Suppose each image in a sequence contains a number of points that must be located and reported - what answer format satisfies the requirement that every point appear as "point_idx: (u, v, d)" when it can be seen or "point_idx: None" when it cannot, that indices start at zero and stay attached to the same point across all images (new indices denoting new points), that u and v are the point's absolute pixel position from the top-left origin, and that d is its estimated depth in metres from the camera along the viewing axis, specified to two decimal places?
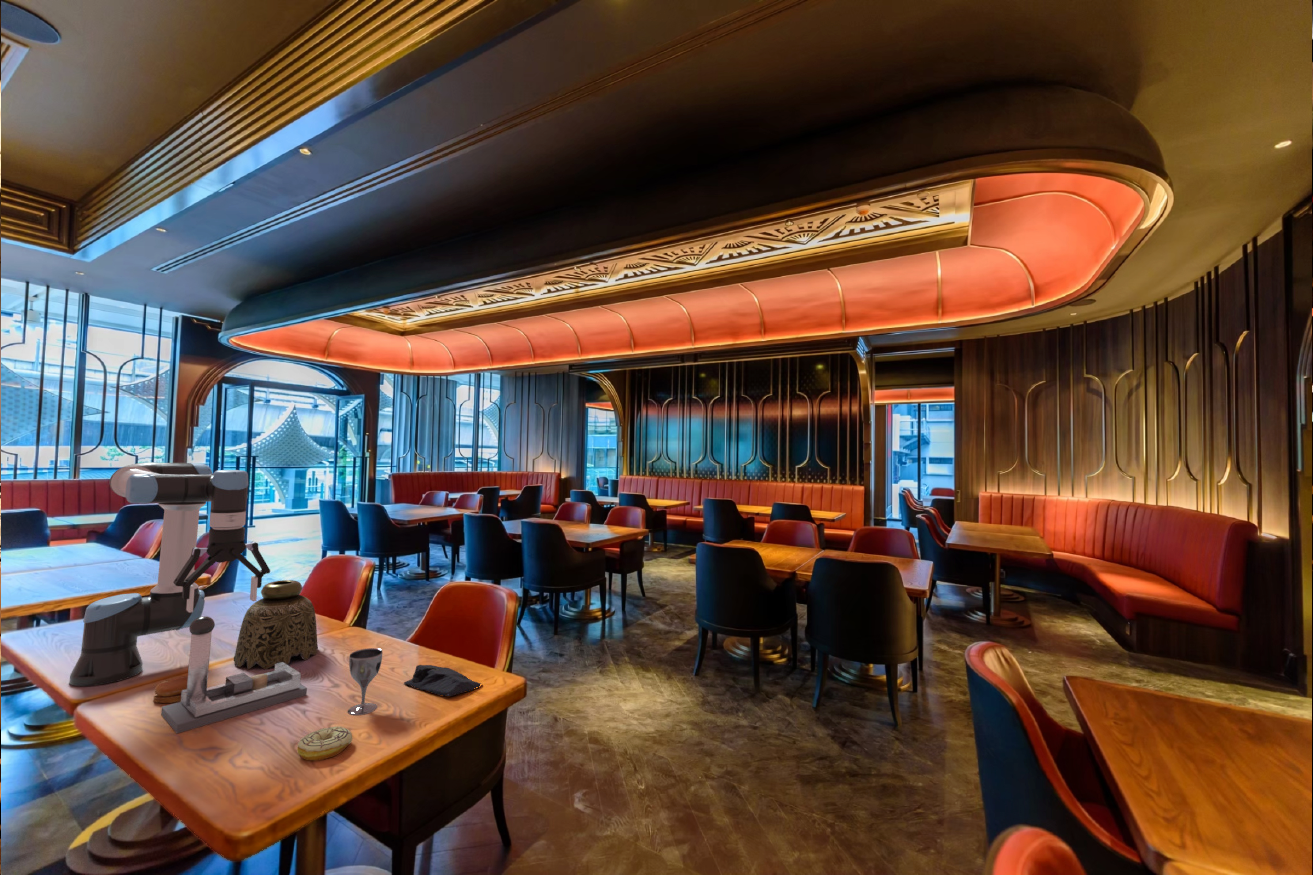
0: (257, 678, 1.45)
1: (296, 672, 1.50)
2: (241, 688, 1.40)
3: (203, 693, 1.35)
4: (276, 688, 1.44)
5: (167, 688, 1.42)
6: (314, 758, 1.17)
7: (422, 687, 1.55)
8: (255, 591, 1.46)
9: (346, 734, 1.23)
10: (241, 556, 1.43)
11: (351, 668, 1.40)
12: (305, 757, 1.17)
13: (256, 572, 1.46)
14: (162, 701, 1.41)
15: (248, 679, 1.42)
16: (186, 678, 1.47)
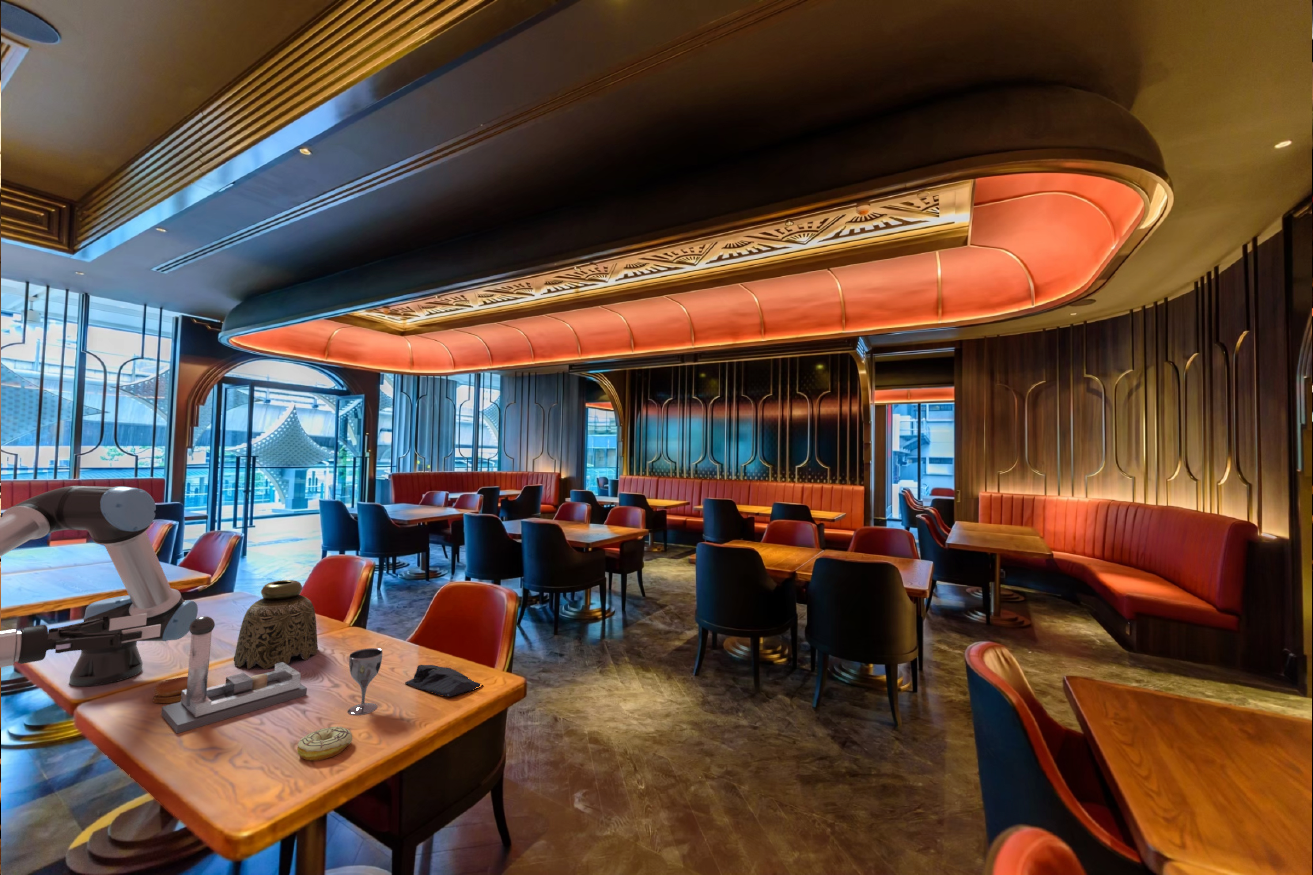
0: (257, 678, 1.45)
1: (296, 672, 1.50)
2: (241, 688, 1.40)
3: (203, 693, 1.35)
4: (276, 688, 1.44)
5: (167, 688, 1.42)
6: (314, 758, 1.17)
7: (423, 687, 1.55)
8: (144, 638, 1.22)
9: (345, 734, 1.23)
10: None
11: (351, 668, 1.40)
12: (305, 757, 1.17)
13: None
14: (162, 701, 1.41)
15: (248, 679, 1.42)
16: (186, 678, 1.47)
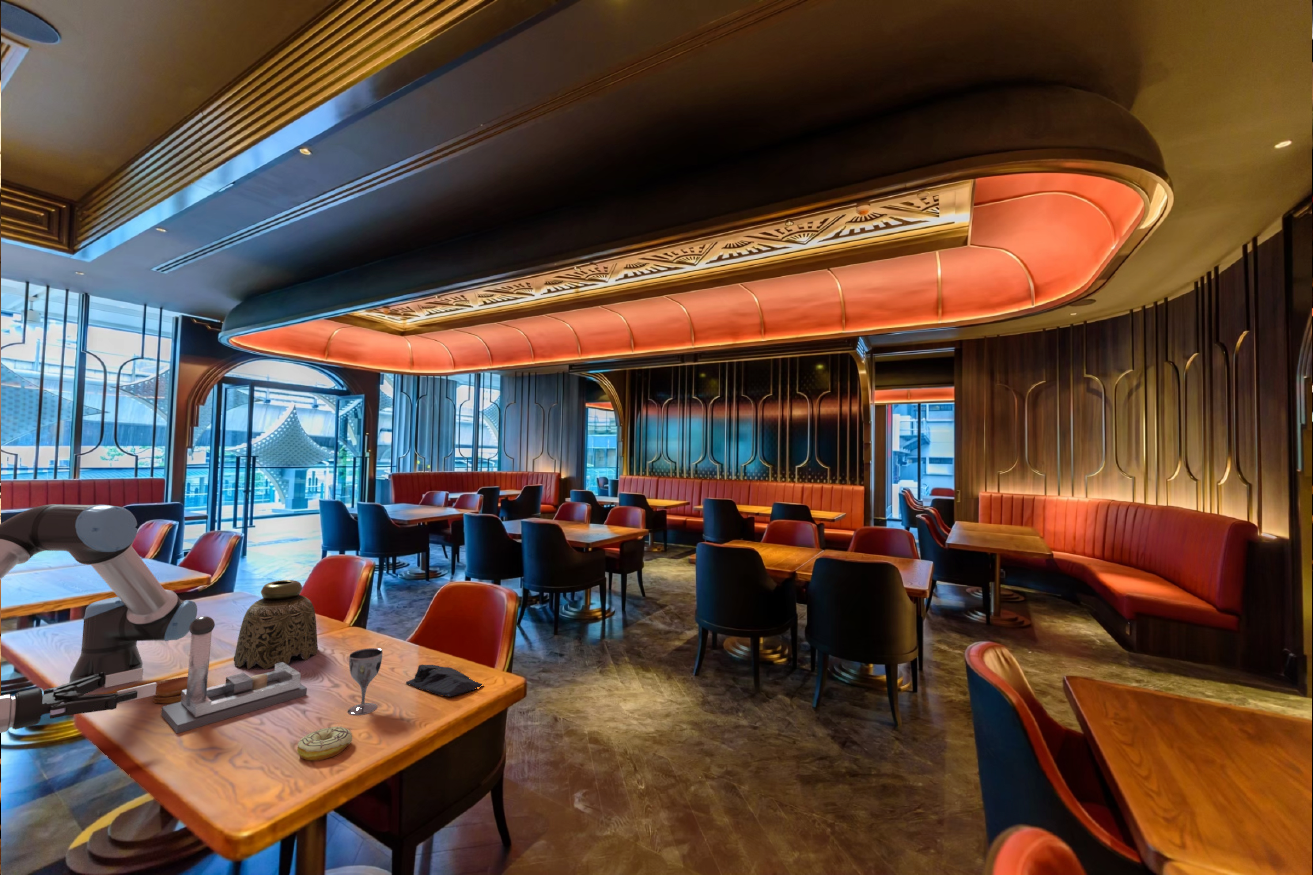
0: (257, 678, 1.45)
1: (296, 672, 1.50)
2: (241, 688, 1.40)
3: (203, 693, 1.35)
4: (276, 688, 1.44)
5: (167, 688, 1.42)
6: (314, 758, 1.17)
7: (423, 687, 1.55)
8: None
9: (345, 734, 1.23)
10: None
11: (351, 668, 1.40)
12: (305, 757, 1.17)
13: None
14: (162, 701, 1.41)
15: (248, 679, 1.42)
16: (186, 678, 1.47)
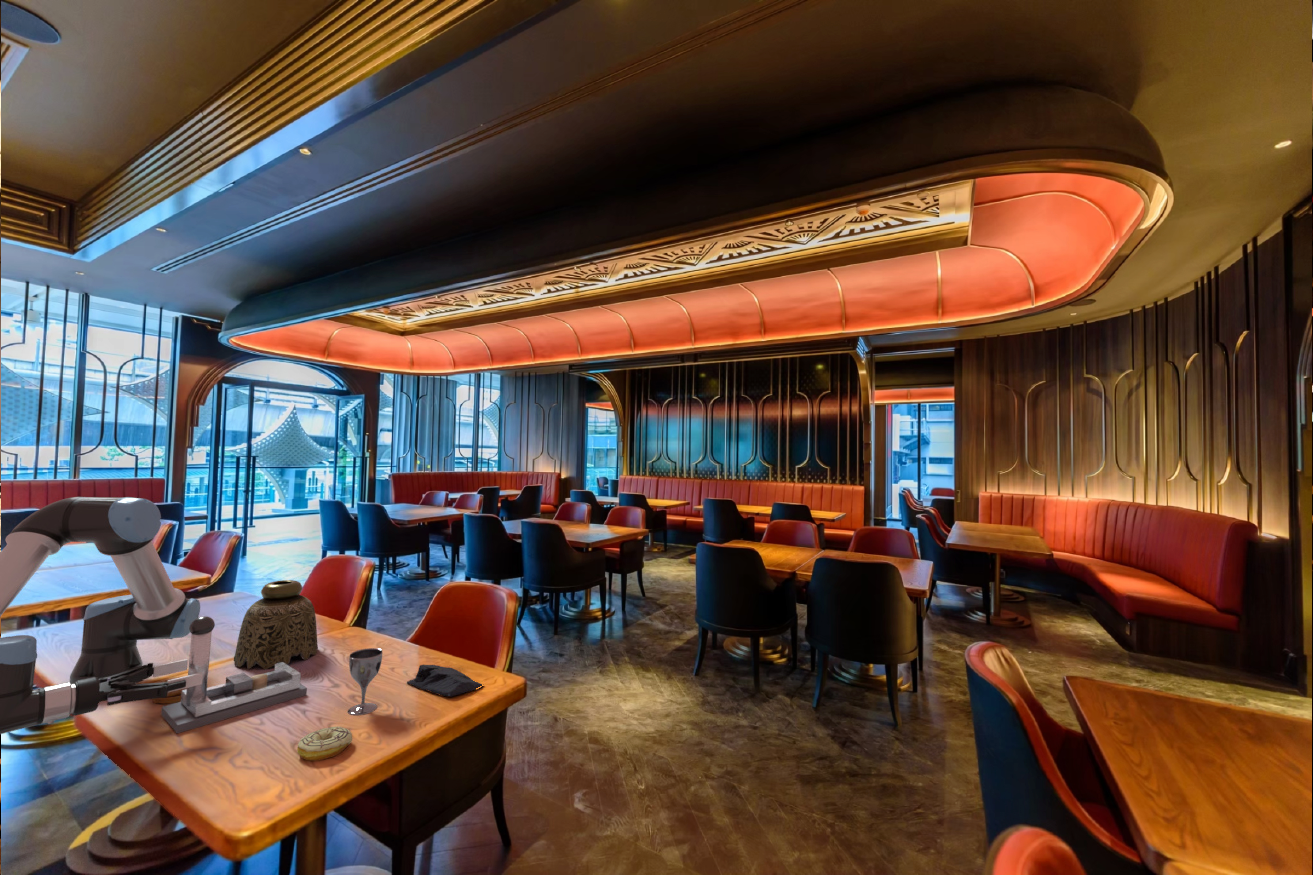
0: (257, 678, 1.45)
1: (296, 672, 1.50)
2: (241, 688, 1.40)
3: (203, 693, 1.35)
4: (276, 688, 1.44)
5: None
6: (314, 758, 1.17)
7: (424, 687, 1.55)
8: None
9: (346, 734, 1.23)
10: None
11: (351, 668, 1.40)
12: (305, 757, 1.17)
13: None
14: (162, 702, 1.41)
15: (248, 679, 1.42)
16: None
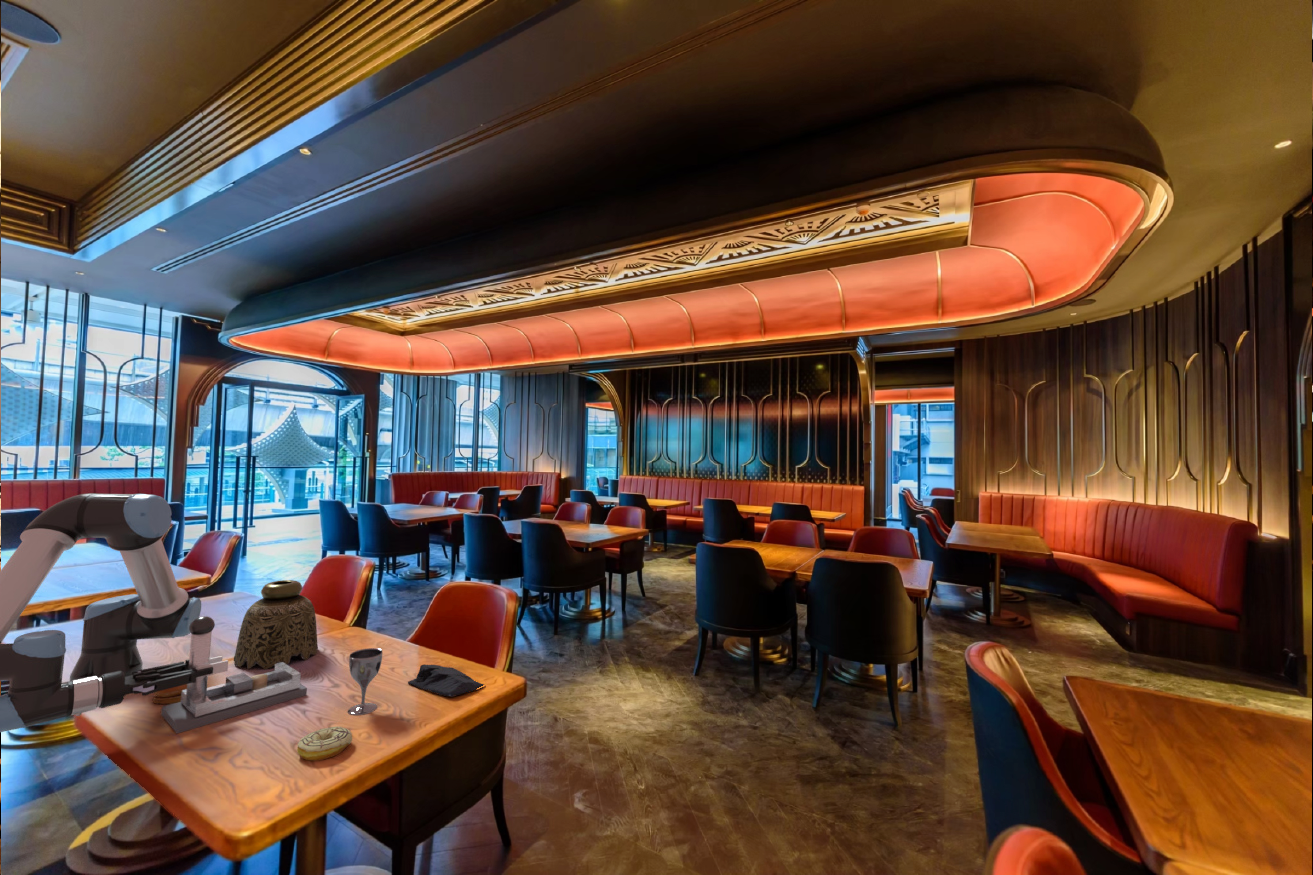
0: (257, 678, 1.45)
1: (296, 672, 1.50)
2: (241, 688, 1.40)
3: (203, 693, 1.35)
4: (276, 688, 1.44)
5: (166, 689, 1.42)
6: (314, 758, 1.17)
7: (425, 687, 1.55)
8: None
9: (345, 734, 1.23)
10: None
11: (351, 668, 1.40)
12: (305, 757, 1.17)
13: None
14: (161, 702, 1.41)
15: (248, 679, 1.42)
16: None
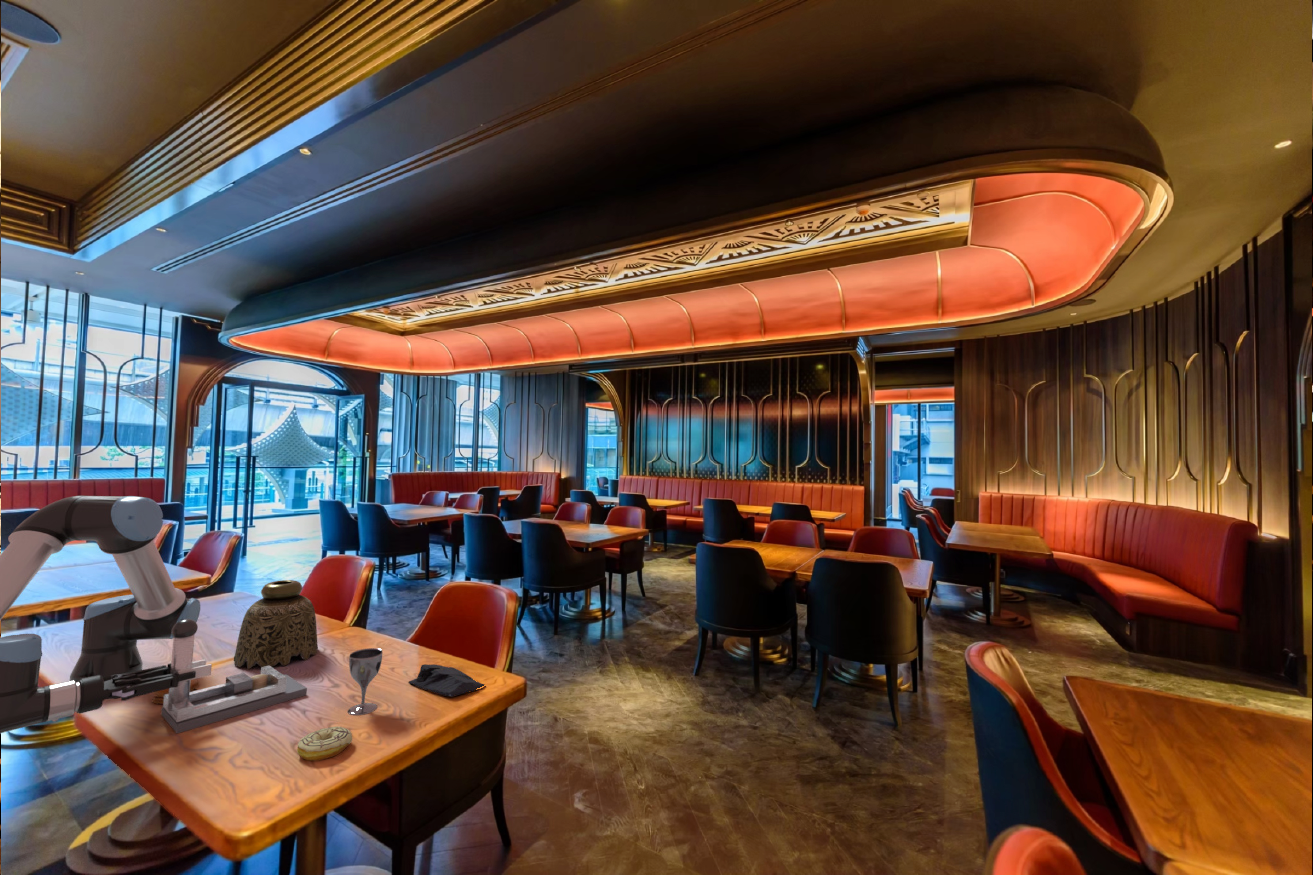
0: (257, 678, 1.45)
1: (282, 676, 1.47)
2: (241, 688, 1.40)
3: (185, 697, 1.32)
4: (261, 692, 1.41)
5: (166, 689, 1.42)
6: (314, 758, 1.17)
7: (425, 687, 1.55)
8: None
9: (345, 734, 1.23)
10: None
11: (351, 668, 1.40)
12: (305, 757, 1.17)
13: None
14: (161, 702, 1.40)
15: (248, 679, 1.42)
16: None
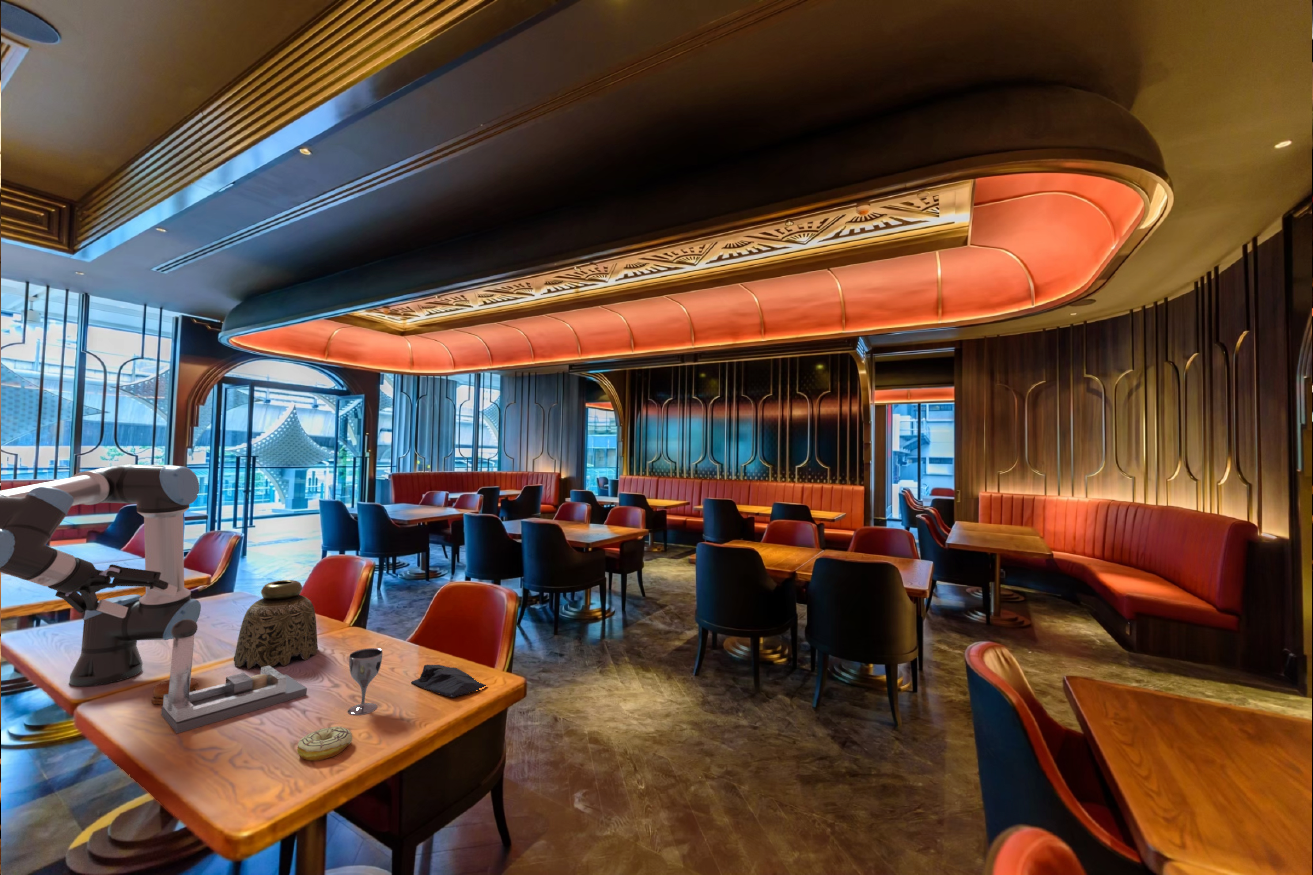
0: (257, 678, 1.45)
1: (282, 676, 1.47)
2: (241, 688, 1.40)
3: (185, 697, 1.32)
4: (261, 692, 1.41)
5: (166, 689, 1.41)
6: (314, 758, 1.17)
7: (428, 687, 1.55)
8: (164, 593, 1.34)
9: (345, 734, 1.23)
10: (107, 585, 1.25)
11: (351, 668, 1.40)
12: (305, 757, 1.17)
13: (144, 585, 1.30)
14: (160, 703, 1.40)
15: (248, 679, 1.42)
16: None
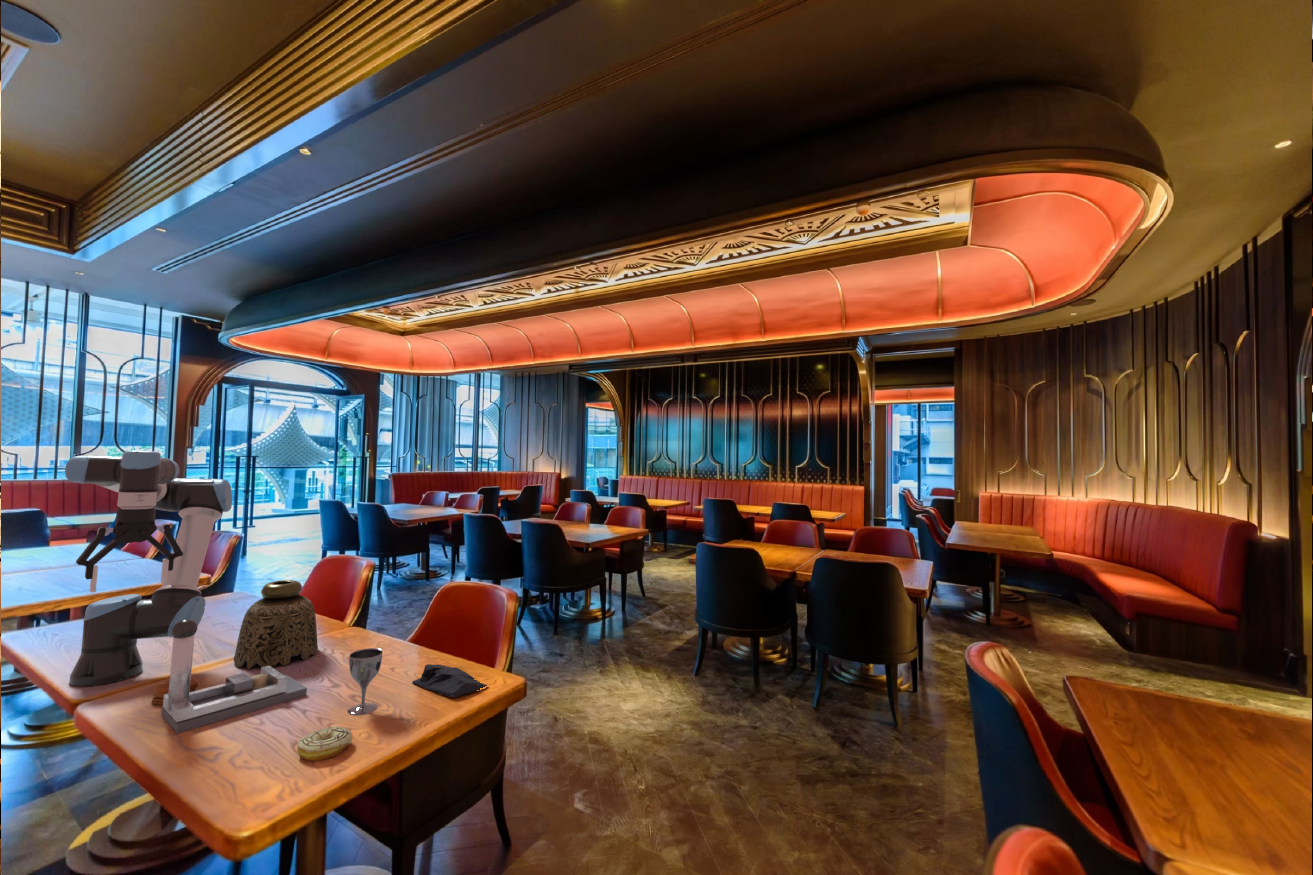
0: (257, 678, 1.45)
1: (282, 676, 1.47)
2: (241, 688, 1.40)
3: (185, 697, 1.32)
4: (261, 692, 1.41)
5: (165, 689, 1.41)
6: (314, 758, 1.17)
7: (428, 687, 1.55)
8: (166, 573, 1.44)
9: (345, 734, 1.23)
10: (151, 537, 1.42)
11: (351, 668, 1.40)
12: (305, 757, 1.17)
13: (167, 554, 1.45)
14: (160, 703, 1.40)
15: (248, 679, 1.42)
16: None
